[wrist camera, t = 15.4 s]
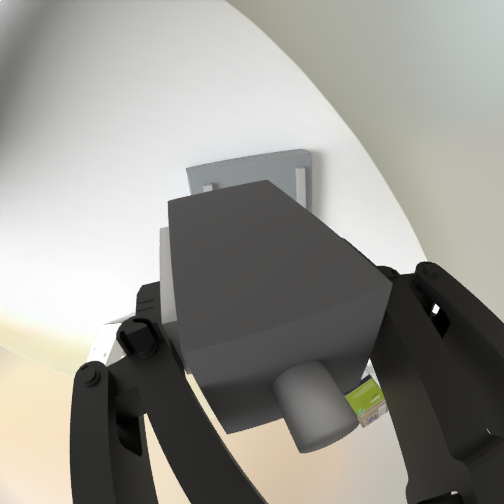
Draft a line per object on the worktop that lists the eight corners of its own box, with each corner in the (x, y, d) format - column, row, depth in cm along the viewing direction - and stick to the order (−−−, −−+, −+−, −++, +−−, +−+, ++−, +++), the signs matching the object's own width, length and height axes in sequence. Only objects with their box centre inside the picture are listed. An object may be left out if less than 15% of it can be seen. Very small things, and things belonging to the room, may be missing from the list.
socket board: (186, 168, 28) (188, 175, 26) (301, 149, 31) (314, 154, 28) (217, 312, 40) (222, 328, 38) (302, 287, 43) (311, 300, 40)
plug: (167, 200, 12) (200, 445, 3) (267, 179, 13) (446, 336, 4) (190, 283, 15) (243, 484, 6) (274, 261, 16) (384, 426, 7)
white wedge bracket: (83, 339, 35) (78, 383, 28) (122, 309, 35) (120, 356, 27) (100, 350, 37) (98, 394, 30) (140, 322, 37) (141, 369, 30)
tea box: (366, 380, 78) (388, 411, 66) (341, 396, 78) (362, 429, 66) (363, 364, 69) (390, 401, 57) (335, 383, 69) (359, 422, 57)
